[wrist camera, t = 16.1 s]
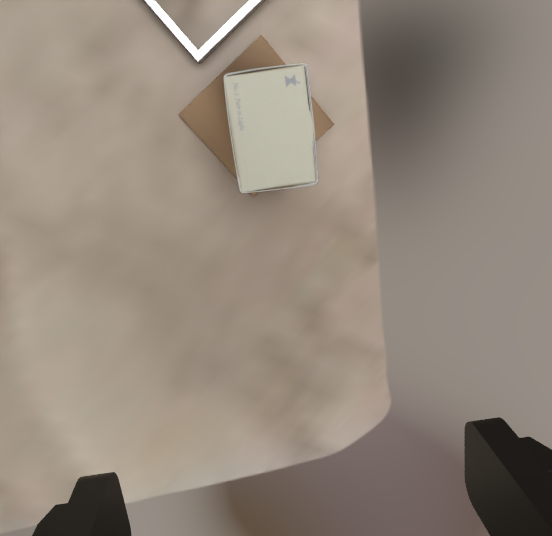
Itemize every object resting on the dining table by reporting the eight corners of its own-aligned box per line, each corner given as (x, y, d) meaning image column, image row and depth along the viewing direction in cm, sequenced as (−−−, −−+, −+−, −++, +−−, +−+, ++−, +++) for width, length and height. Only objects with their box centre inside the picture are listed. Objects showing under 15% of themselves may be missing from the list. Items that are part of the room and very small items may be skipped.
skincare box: (223, 79, 37) (217, 68, 25) (285, 71, 37) (308, 57, 26) (235, 168, 39) (236, 195, 27) (294, 160, 39) (320, 185, 27)
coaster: (253, 195, 40) (253, 196, 40) (179, 114, 38) (178, 114, 37) (332, 123, 39) (334, 124, 38) (260, 35, 37) (261, 34, 36)
